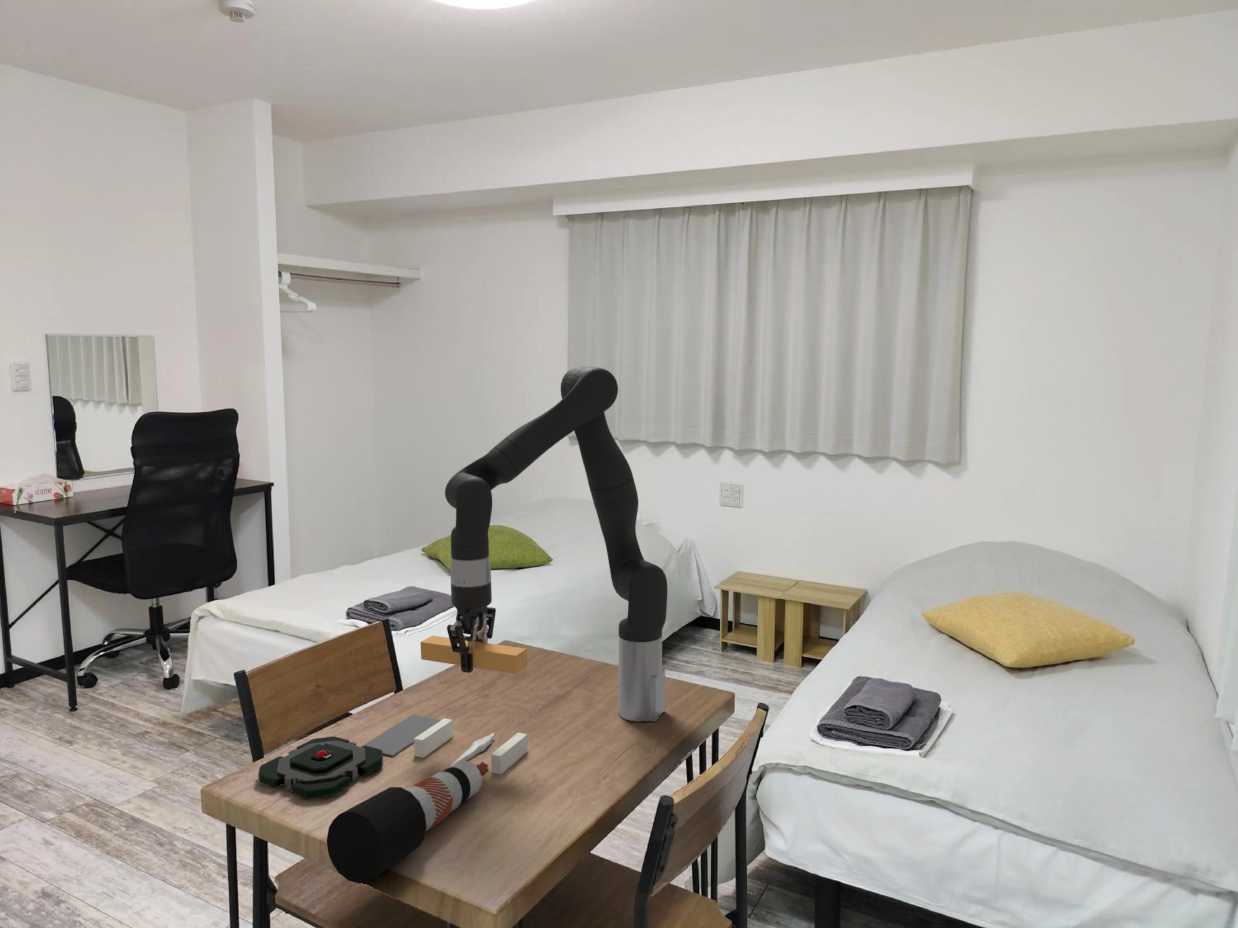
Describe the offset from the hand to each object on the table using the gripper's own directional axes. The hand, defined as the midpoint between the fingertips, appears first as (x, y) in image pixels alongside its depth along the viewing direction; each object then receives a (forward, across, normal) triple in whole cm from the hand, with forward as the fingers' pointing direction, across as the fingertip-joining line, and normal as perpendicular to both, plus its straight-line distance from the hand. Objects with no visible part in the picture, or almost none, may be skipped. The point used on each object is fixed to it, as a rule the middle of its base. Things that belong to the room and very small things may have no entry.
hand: (473, 666), depth 163 cm
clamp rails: (+17, -1, 0) cm, 17 cm away
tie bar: (-1, 0, 0) cm, 1 cm away
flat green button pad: (+17, -18, +21) cm, 33 cm away
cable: (+17, -26, -7) cm, 32 cm away
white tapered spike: (+17, -1, 0) cm, 17 cm away
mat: (+17, 0, +17) cm, 24 cm away
